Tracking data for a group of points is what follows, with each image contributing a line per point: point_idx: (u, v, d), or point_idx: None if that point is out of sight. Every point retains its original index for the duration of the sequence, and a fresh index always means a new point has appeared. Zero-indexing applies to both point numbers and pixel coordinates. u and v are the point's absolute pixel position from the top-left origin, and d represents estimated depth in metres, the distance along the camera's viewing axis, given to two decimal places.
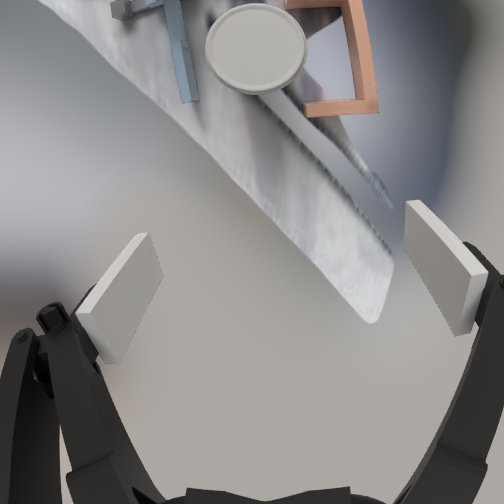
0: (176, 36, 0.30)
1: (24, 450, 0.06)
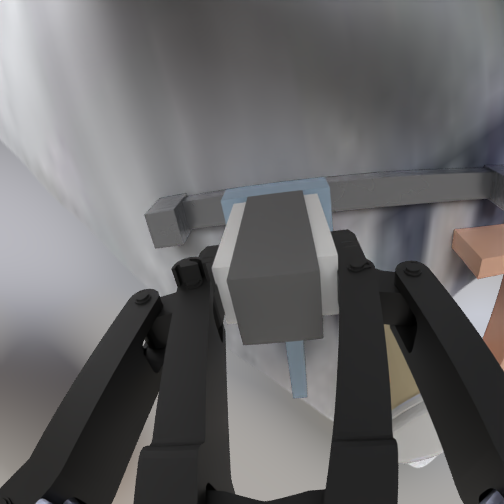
0: None
1: (99, 428, 0.07)
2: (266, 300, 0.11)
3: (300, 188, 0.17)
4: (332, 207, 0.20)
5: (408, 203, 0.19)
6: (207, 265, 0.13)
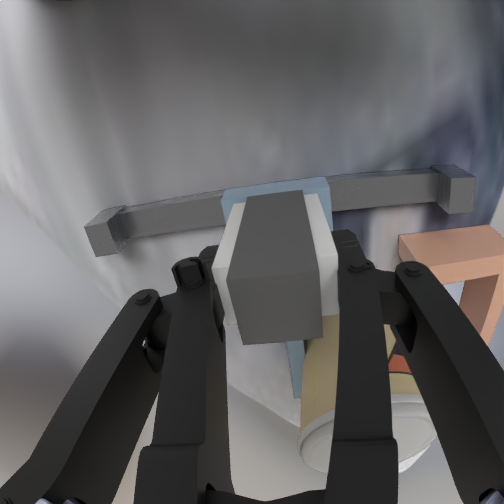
0: None
1: (99, 429, 0.07)
2: (266, 300, 0.11)
3: (300, 188, 0.17)
4: None
5: (337, 209, 0.20)
6: (207, 265, 0.13)
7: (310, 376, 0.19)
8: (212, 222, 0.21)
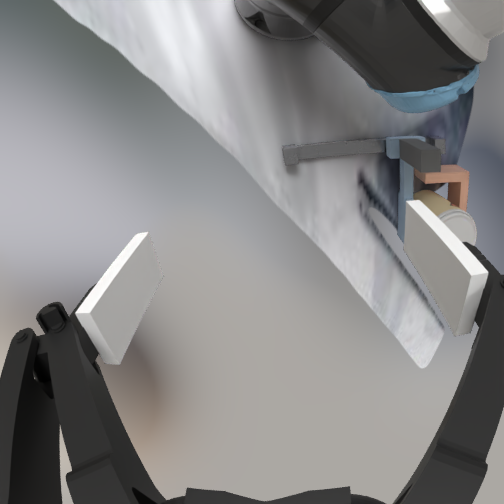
0: (409, 193, 0.45)
1: (24, 450, 0.06)
2: (429, 157, 0.34)
3: (415, 138, 0.40)
4: (358, 152, 0.45)
5: None
6: None
7: None
8: (340, 153, 0.45)
